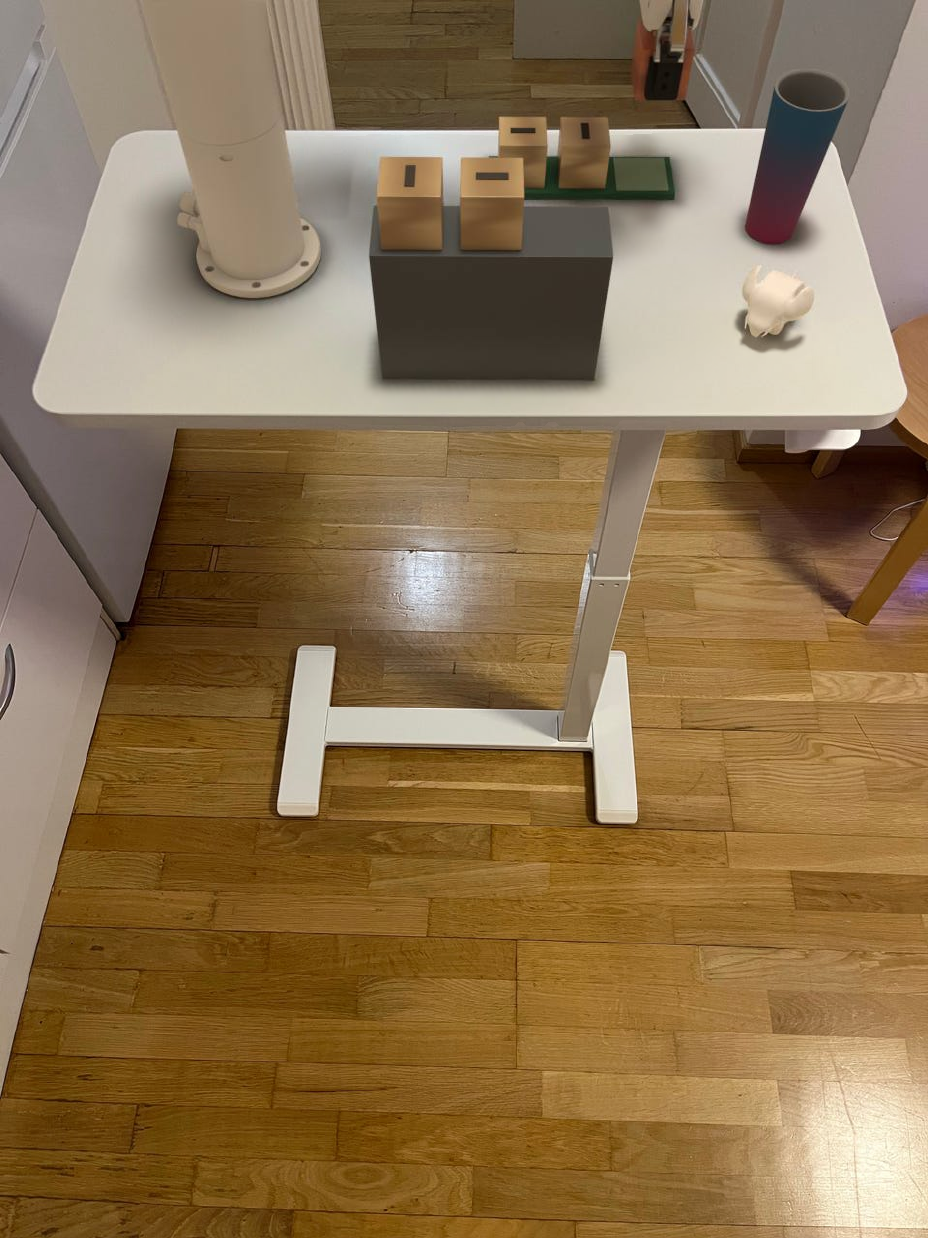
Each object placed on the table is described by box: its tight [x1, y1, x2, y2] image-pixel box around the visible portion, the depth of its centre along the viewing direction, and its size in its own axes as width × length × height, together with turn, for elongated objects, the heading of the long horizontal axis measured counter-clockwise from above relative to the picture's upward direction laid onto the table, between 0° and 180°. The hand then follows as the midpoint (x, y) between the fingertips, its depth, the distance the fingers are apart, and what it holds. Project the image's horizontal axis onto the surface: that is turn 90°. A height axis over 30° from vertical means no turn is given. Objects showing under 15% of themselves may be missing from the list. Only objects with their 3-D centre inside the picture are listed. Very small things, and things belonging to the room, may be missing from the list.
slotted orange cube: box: [630, 20, 696, 101], centre depth 95 cm, size 5×5×5 cm
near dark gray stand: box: [368, 156, 614, 381], centre depth 85 cm, size 20×6×19 cm, turn 89°
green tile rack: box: [488, 116, 676, 201], centre depth 104 cm, size 20×6×6 cm, turn 89°
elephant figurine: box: [741, 264, 815, 338], centre depth 92 cm, size 7×8×6 cm
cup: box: [744, 67, 851, 245], centre depth 96 cm, size 7×7×15 cm
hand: (657, 79), depth 97 cm, fingers closed on slotted orange cube, 5 cm apart
